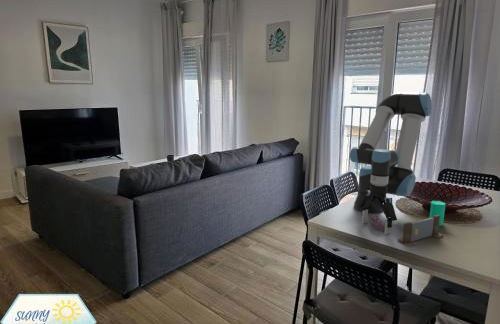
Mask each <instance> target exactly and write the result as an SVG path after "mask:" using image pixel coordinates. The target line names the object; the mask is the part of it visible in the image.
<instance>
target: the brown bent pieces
mask: <svg viewBox="0 0 500 324" xmlns="http://www.w3.org/2000/svg"><path fill="white" fill-rule="evenodd" d="M433 217H435V219H434V227H433V236H432V237H434V238H437V239H440V238H443V236H444V234H442V233H440V232H439V228H440V226H439V221H440V215H434V216H433ZM411 227H412V222H410V221H408V222H404V225H403V232H402V233H403V234H402V237H401V238H397V242H398V243H400V244H402V245H405V246H407V247H409V248H411V247H415V246H416V243H415V242H414V241H412V242H411V241H410V236H411Z"/></svg>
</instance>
